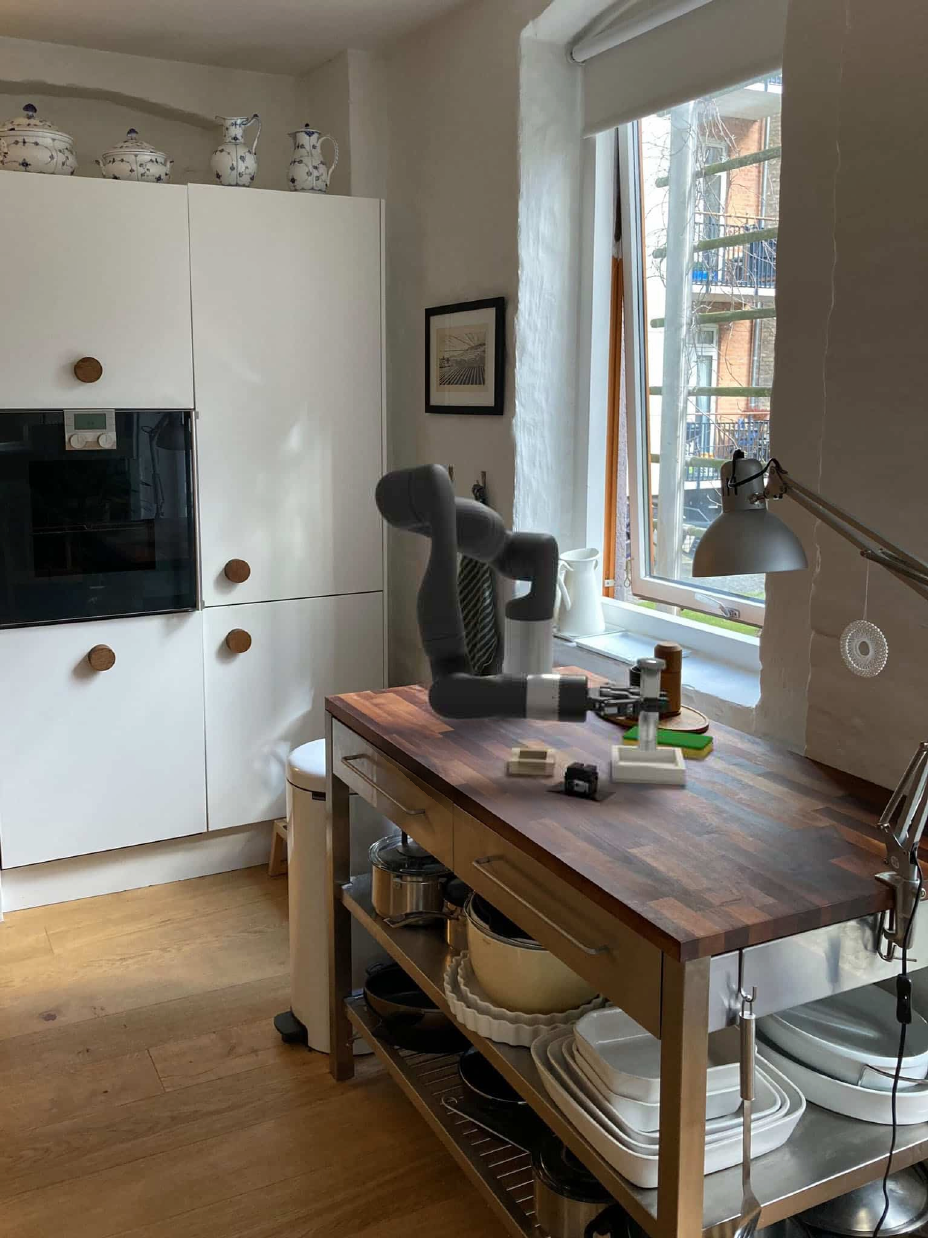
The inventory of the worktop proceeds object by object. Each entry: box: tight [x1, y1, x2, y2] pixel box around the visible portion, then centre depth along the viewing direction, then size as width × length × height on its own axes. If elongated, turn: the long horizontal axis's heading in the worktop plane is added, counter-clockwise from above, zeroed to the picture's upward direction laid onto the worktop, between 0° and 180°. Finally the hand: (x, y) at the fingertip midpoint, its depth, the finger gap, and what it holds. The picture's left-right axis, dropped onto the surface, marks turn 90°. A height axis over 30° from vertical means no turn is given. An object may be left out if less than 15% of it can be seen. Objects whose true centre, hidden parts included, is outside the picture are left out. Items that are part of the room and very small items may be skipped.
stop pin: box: [636, 657, 667, 751], centre depth 175 cm, size 4×4×14 cm
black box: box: [545, 761, 617, 804], centre depth 167 cm, size 12×7×5 cm, turn 59°
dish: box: [610, 744, 687, 786], centre depth 177 cm, size 11×11×2 cm
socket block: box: [508, 747, 557, 776], centre depth 179 cm, size 7×7×2 cm
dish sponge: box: [621, 725, 714, 759], centre depth 190 cm, size 7×14×2 cm, turn 62°
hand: (667, 702), depth 175 cm, fingers closed on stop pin, 3 cm apart
